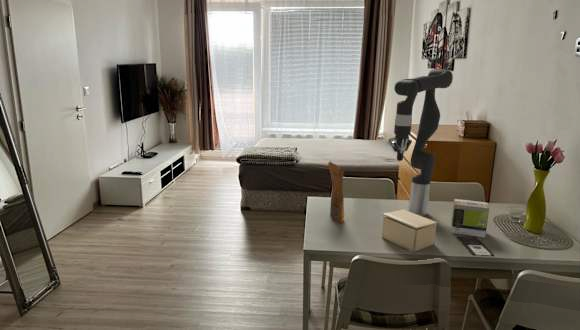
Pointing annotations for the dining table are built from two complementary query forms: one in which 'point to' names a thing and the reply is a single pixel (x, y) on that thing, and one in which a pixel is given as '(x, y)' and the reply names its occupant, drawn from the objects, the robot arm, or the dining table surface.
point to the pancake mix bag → (337, 193)
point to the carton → (408, 235)
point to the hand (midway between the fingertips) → (399, 160)
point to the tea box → (469, 218)
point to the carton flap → (409, 219)
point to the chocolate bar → (475, 246)
